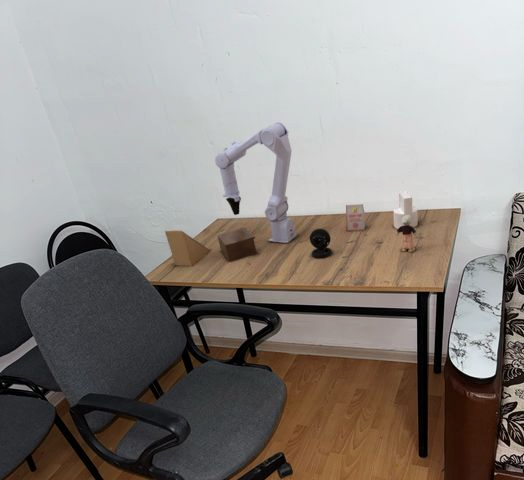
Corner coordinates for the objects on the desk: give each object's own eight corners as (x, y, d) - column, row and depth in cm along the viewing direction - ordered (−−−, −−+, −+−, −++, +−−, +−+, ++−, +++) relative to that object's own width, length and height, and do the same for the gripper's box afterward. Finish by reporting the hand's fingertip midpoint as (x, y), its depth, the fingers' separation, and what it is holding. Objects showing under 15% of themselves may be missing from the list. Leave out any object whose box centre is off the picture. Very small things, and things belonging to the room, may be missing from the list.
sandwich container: (211, 249, 202) (202, 215, 193) (192, 265, 191) (182, 230, 183) (194, 249, 206) (185, 216, 197) (175, 265, 195) (164, 230, 187)
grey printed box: (348, 227, 195) (346, 203, 189) (365, 226, 192) (363, 202, 187) (347, 230, 192) (345, 206, 186) (363, 230, 189) (362, 205, 184)
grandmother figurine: (418, 247, 167) (419, 213, 160) (417, 252, 165) (417, 217, 158) (396, 247, 171) (396, 213, 164) (394, 252, 168) (393, 217, 161)
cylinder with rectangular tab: (420, 226, 182) (420, 196, 176) (396, 230, 183) (396, 200, 176) (414, 219, 190) (414, 189, 183) (391, 222, 191) (390, 193, 184)
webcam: (309, 258, 176) (306, 233, 171) (314, 250, 182) (311, 225, 176) (329, 258, 174) (326, 232, 168) (334, 249, 179) (331, 224, 174)
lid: (245, 228, 197) (244, 227, 197) (255, 238, 186) (254, 236, 186) (217, 236, 195) (217, 235, 195) (225, 246, 184) (225, 245, 184)
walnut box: (246, 243, 201) (243, 229, 197) (256, 253, 190) (253, 238, 186) (221, 250, 199) (217, 236, 195) (229, 261, 188) (225, 247, 184)
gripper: (216, 181, 200) (223, 212, 207) (225, 188, 188) (232, 221, 195) (232, 176, 201) (238, 208, 208) (241, 183, 189) (248, 216, 197)
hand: (236, 214), depth 202 cm, fingers closed
